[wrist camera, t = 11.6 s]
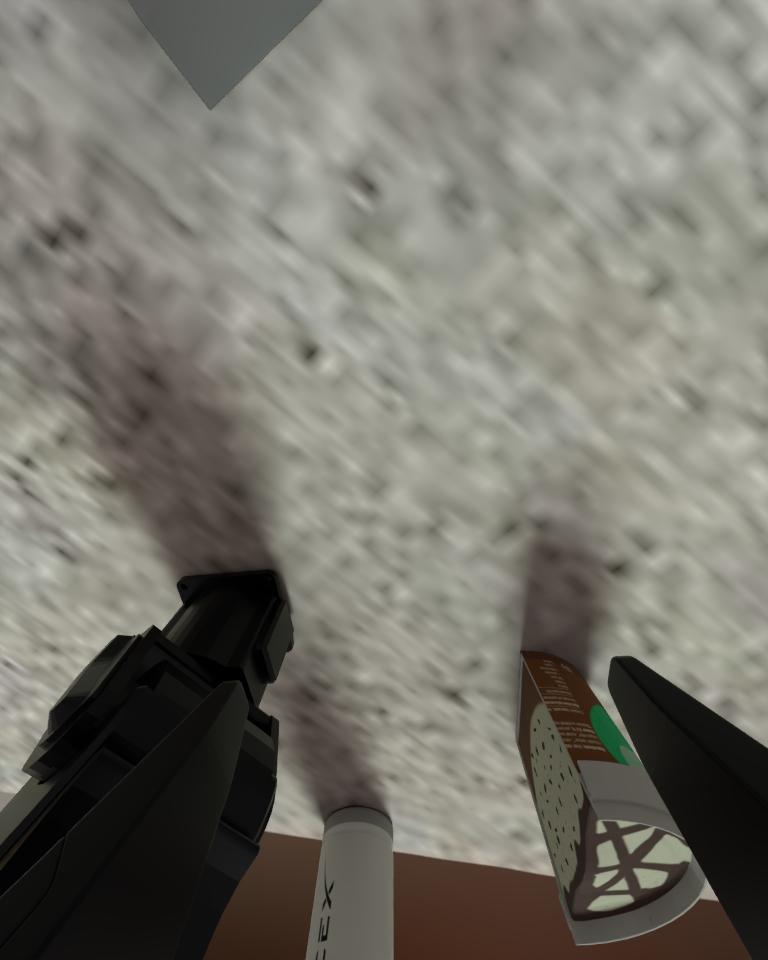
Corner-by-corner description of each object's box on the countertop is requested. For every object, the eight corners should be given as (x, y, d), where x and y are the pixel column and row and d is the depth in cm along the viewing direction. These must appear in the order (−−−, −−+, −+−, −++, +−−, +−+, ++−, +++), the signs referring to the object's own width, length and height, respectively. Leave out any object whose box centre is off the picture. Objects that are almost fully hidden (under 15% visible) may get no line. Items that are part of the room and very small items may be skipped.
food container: (593, 750, 28) (692, 948, 19) (515, 753, 29) (574, 950, 19) (612, 629, 24) (752, 807, 15) (521, 634, 24) (601, 812, 15)
